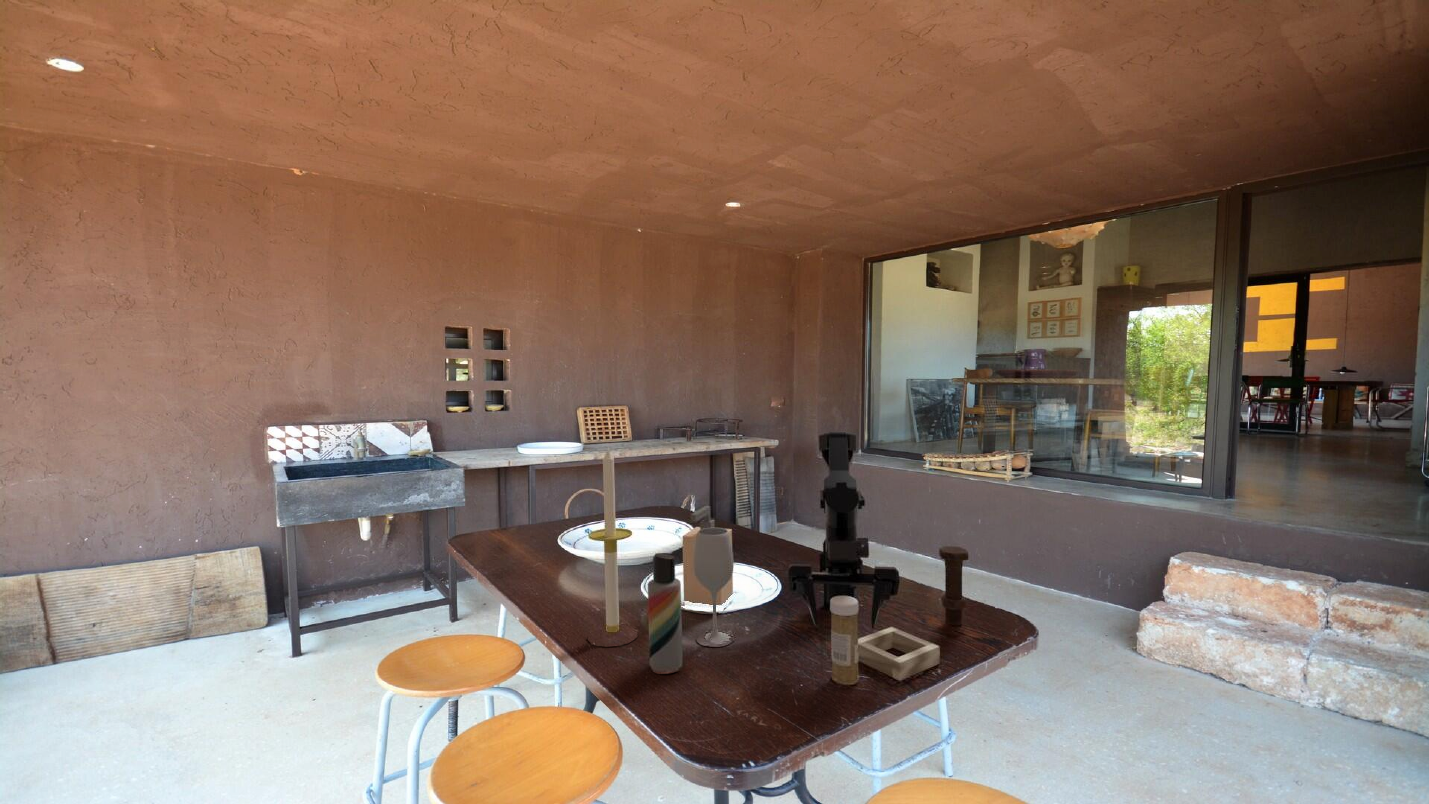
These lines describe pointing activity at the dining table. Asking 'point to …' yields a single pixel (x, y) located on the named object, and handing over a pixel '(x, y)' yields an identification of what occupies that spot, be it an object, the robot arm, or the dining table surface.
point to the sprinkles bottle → (844, 639)
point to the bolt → (953, 583)
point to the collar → (902, 667)
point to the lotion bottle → (664, 615)
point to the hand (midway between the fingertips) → (844, 626)
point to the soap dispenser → (691, 585)
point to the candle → (610, 544)
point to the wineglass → (714, 569)
